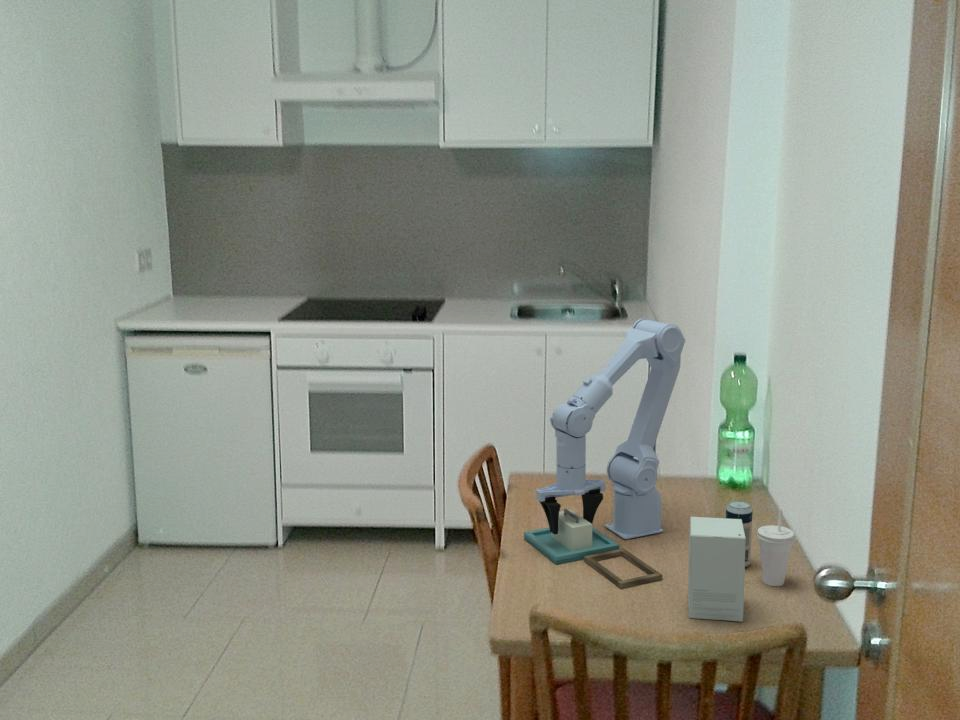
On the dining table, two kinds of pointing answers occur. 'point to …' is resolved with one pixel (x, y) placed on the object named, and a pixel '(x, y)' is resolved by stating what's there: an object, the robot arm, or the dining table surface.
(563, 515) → the white block with handle
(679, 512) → the dining table surface
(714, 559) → the supplement box
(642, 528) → the robot arm
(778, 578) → the smoothie
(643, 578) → the brown flat rectangular frame
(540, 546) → the tray
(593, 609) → the dining table surface
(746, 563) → the beer can
